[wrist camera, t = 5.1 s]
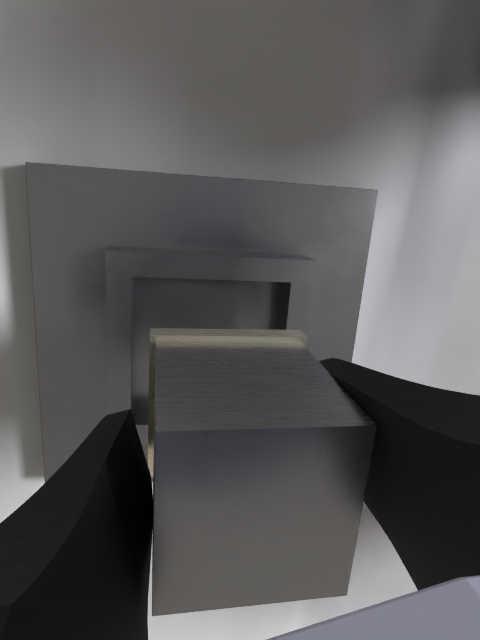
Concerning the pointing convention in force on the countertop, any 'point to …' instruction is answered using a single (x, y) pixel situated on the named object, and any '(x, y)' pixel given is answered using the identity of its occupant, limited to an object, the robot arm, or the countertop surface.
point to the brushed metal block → (250, 470)
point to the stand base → (177, 278)
